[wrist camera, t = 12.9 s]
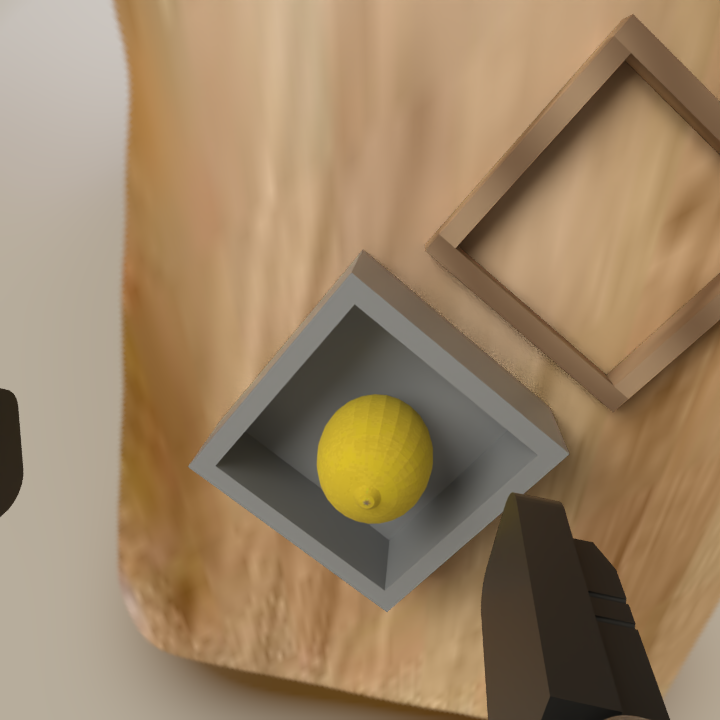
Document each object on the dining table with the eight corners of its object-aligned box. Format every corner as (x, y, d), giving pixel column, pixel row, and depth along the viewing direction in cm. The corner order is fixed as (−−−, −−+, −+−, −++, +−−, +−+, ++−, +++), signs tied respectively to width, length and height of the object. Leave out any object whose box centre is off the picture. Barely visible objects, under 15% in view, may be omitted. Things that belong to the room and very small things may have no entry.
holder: (622, 19, 26) (633, 14, 25) (816, 214, 28) (836, 218, 27) (425, 244, 31) (424, 250, 29) (605, 400, 33) (613, 412, 31)
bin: (362, 249, 31) (351, 272, 26) (549, 407, 33) (569, 454, 29) (219, 421, 36) (188, 466, 31) (392, 551, 38) (386, 612, 33)
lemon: (328, 456, 35) (298, 546, 27) (336, 364, 33) (306, 435, 25) (426, 470, 34) (423, 566, 27) (440, 378, 32) (441, 454, 25)
